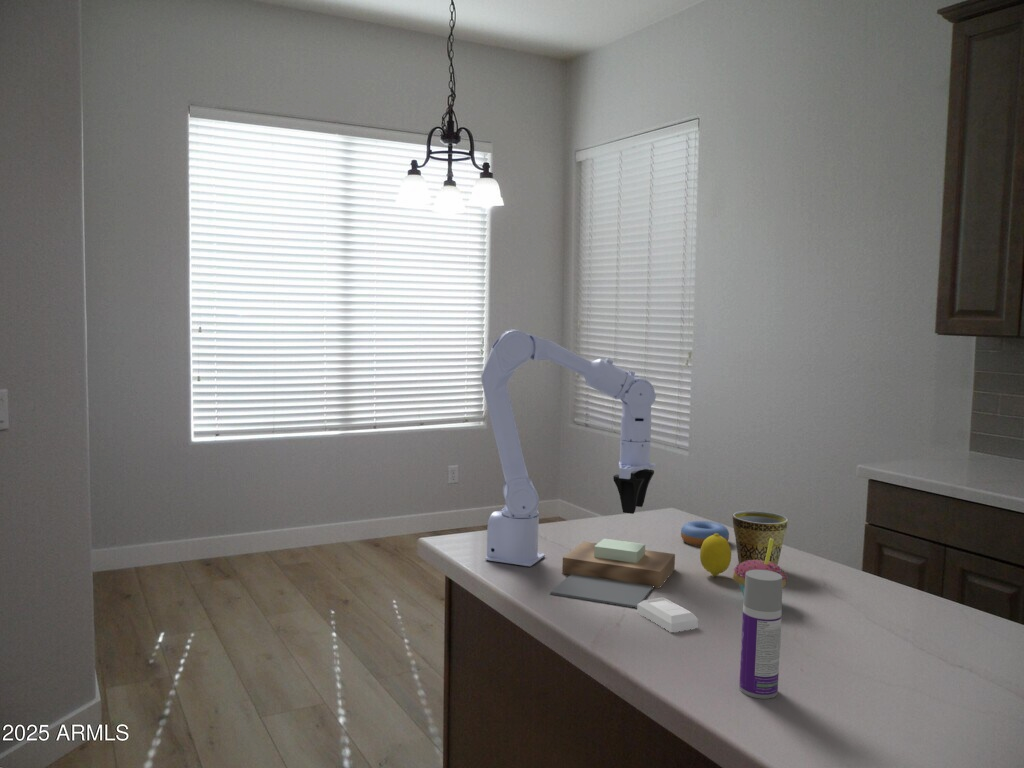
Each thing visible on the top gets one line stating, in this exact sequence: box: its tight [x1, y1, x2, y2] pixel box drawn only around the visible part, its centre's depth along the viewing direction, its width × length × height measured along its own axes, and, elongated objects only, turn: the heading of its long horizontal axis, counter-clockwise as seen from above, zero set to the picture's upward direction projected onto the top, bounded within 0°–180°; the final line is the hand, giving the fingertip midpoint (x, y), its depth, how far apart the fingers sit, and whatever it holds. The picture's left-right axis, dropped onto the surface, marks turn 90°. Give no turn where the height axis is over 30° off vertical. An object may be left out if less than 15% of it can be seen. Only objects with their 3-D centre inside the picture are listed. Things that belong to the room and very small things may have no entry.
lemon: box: [699, 533, 732, 577], centre depth 150 cm, size 6×6×8 cm
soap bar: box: [636, 596, 699, 633], centre depth 128 cm, size 5×9×3 cm, turn 25°
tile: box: [594, 538, 646, 563], centre depth 152 cm, size 8×6×2 cm
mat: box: [549, 574, 654, 609], centre depth 141 cm, size 15×11×1 cm
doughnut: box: [680, 520, 730, 548], centre depth 174 cm, size 10×10×5 cm
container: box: [739, 570, 783, 700], centre depth 104 cm, size 5×5×15 cm
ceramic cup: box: [732, 510, 789, 566], centre depth 157 cm, size 13×10×10 cm
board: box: [561, 541, 676, 588], centre depth 152 cm, size 18×12×3 cm, turn 67°
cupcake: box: [732, 535, 788, 599], centre depth 137 cm, size 9×8×12 cm
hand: (632, 509), depth 159 cm, fingers open, 6 cm apart
